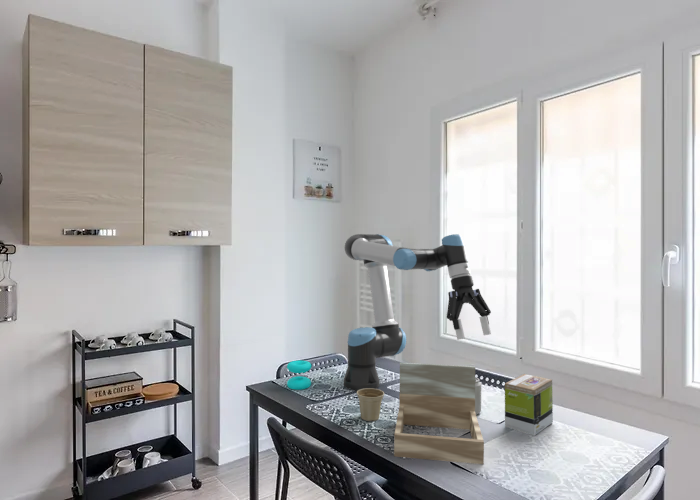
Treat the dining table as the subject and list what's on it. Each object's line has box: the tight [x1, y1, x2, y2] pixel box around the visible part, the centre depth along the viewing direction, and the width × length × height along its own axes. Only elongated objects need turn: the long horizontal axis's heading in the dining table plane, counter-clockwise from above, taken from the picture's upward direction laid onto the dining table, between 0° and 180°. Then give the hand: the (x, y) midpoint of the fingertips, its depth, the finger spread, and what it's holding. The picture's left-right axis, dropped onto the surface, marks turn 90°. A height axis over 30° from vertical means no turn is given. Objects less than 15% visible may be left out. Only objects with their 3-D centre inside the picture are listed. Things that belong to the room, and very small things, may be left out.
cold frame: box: [393, 362, 485, 465], centre depth 132 cm, size 24×24×20 cm
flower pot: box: [356, 388, 385, 422], centre depth 150 cm, size 9×9×9 cm
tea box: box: [504, 373, 554, 436], centre depth 145 cm, size 15×10×15 cm, turn 134°
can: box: [475, 376, 482, 416], centre depth 156 cm, size 8×8×12 cm
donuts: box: [286, 359, 312, 391], centre depth 182 cm, size 10×10×10 cm
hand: (474, 337), depth 152 cm, fingers open, 13 cm apart
